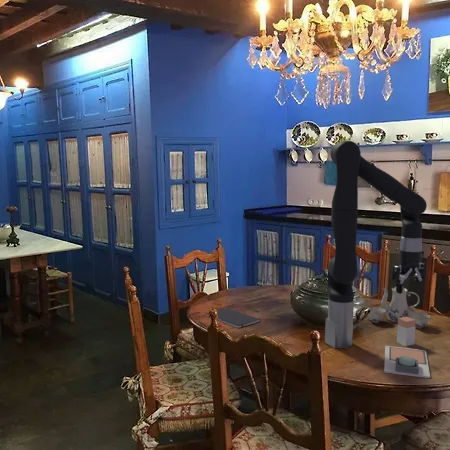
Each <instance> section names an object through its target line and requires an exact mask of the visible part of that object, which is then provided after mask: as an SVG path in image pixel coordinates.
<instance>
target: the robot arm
mask: <svg viewBox="0 0 450 450" xmlns="http://www.w3.org/2000/svg"><path fill="white" fill-rule="evenodd" d="M329 153H330V154H329V155H330V158H331V161H332V162H333V163H334V164H335V165H336V182H335V188H334V191H333V197H332V201H331V214H330V215H331V216H330V217H331V218H330V220H331V228H332V235H333V238H334V246H335V250H334V251H335V252H334V253H335V254H334V257H332V258H331V259H330V261H329V262H328V266H327V292H328V293H327V294H328V302H327V303H328V305H327V306H328V307H327V317H326V318H325V326H324V329H325V330H324V343H325V344H327V345H328V346H330V347H331V348H334V349H346V348H350V347H351V346H353V334H354V333H353V331H354V327H353V326H354V307H355V292H354V288H353V283H354V281H355V280H356V278H357V274H358V264H357V263H358V262H357V249H356V248H357V247H356V246H357V233H358V219H359V218H358V217H359V216H358V215H359V214H358V212H359V211H358V210H359V206H358V205H359V204H358V203H359V201H358V200H359V199H358V197H359V193H358V192H359V191H358V190H359V189H358V187H359V186H358V179H359V178H360V179H362V180H363V181H365V182H366V183H367V184H369V186H371V187H372V188H374V189H375V190H376V191H377V192H379V193H380V194H381V195H383V196H385V197H386V198H387V199H389V200H390V201H393V202H394V203H397V204H398V205H399V206H400V207H399V211H400V220H401V235H400V236H401V238H400V241H399V261H400V265H393V266H392V276H391V281H392V282H394V283H395V284H396V286H395V287H396V291H397V293H399V294H402V290H403V287H404V281H405V280H407V279H408V277H413V278H414V281H413V290H414V291H416V292H419V291H420V290H421V285H422V283H421V282H422V281H423V280H425V279H426V277H427V276H426V275H427V274H426V273H427V267H426V266H427V264H426V263H425V262H424V263H423V262H422V249H423V248H422V247H423V242H422V241H423V240H422V239H423V238H422V237H423V224H422V222H421V221H420V215H422V214H424V213H425V212H426V210H427V205H428V204H427V202H426V200H425V198H424V197H423V196H421V194H418V193H417V192H415V190H411V189H410V188H408V187H407V186H405V185H404V184H403V183H401V181H399V180H398V179H396V178H395V177H394V176H392V175H391V174H389V173H388V172H386V171H384V170H383V169H381V168H379V167H378V166H376V165H374V164H373V163H371V162H369V161H367V160H366V159H365V158H364V157H363V155H362V154H361V149H360V147H359V145H358V144H357V143H356V142H354V141H352V140H343V141H342V140H341V141H339V142H337V143H335V144H333V146H331V149H330V152H329Z"/></svg>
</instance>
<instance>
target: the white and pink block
mask: <svg viewBox="0 0 450 450" xmlns="http://www.w3.org/2000/svg"><path fill="white" fill-rule="evenodd" d="M415 323H416V320H414V319H412V318H409V317H402V318H398V323H397V333H396V343H397V344H400V345H402V346H404V347H408V346H413V345H415V340H416V339H415V338H416V337H415V335H416V328H415Z"/></svg>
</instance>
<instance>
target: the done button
mask: <svg viewBox="0 0 450 450" xmlns="http://www.w3.org/2000/svg"><path fill="white" fill-rule="evenodd" d="M399 365H401V366H409V367H415V359H414V358H412V357H409V356H401V357H399Z"/></svg>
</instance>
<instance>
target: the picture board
mask: <svg viewBox="0 0 450 450" xmlns="http://www.w3.org/2000/svg"><path fill="white" fill-rule="evenodd" d="M401 356H409V357H412V358H414V359H415V367H409V366H401V365H399V357H401ZM383 367H384V370H383V371H384V372H383V373H385V374H387V373H388V374H393V375H401V376H411V377H415V378H416V377H417V378H425V379H431V373H430V368H429V362H428V356H427V351H426V350H424V349H416V348H409V347H408V348H407V347H400V346H390V345H384V365H383Z"/></svg>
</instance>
